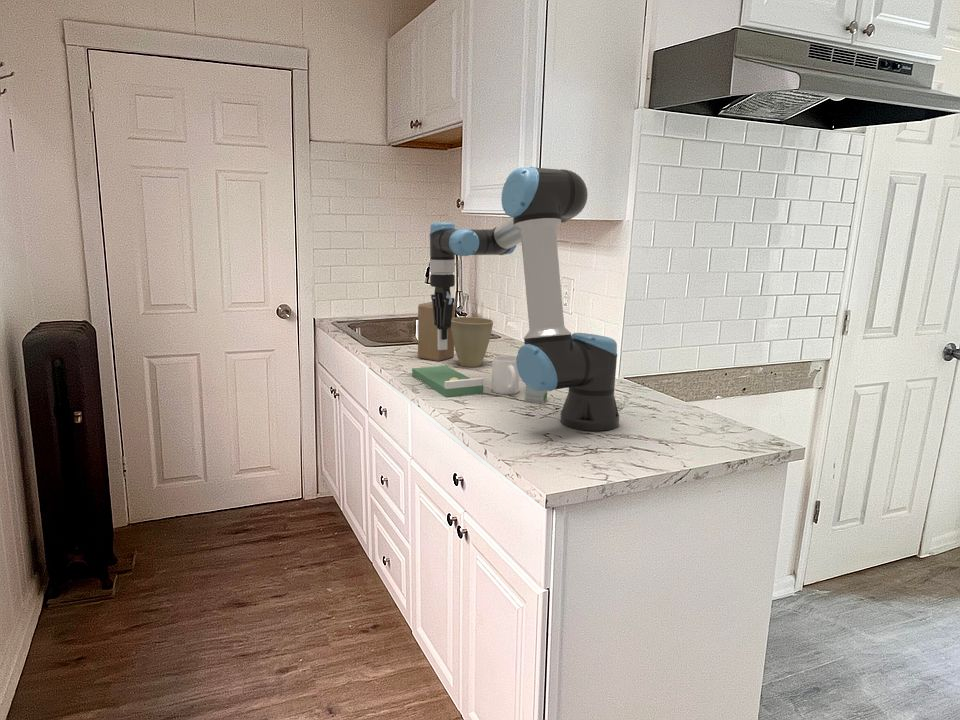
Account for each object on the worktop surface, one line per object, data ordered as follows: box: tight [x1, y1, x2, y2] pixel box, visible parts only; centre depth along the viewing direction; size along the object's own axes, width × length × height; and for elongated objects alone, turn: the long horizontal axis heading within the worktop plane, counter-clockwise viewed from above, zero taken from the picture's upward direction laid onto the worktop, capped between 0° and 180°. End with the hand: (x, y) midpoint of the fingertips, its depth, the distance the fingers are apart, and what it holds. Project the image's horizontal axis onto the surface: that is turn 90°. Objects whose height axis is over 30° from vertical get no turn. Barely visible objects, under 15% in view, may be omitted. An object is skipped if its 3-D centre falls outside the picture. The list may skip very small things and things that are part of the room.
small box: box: [523, 385, 548, 404], centre depth 201 cm, size 6×6×5 cm
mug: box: [491, 354, 521, 396], centre depth 207 cm, size 12×8×10 cm
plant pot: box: [451, 316, 494, 368], centre depth 242 cm, size 15×15×16 cm
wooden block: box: [417, 301, 456, 362], centre depth 252 cm, size 10×10×20 cm
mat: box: [411, 365, 485, 398], centre depth 216 cm, size 28×12×4 cm, turn 26°
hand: (442, 349), depth 217 cm, fingers closed
